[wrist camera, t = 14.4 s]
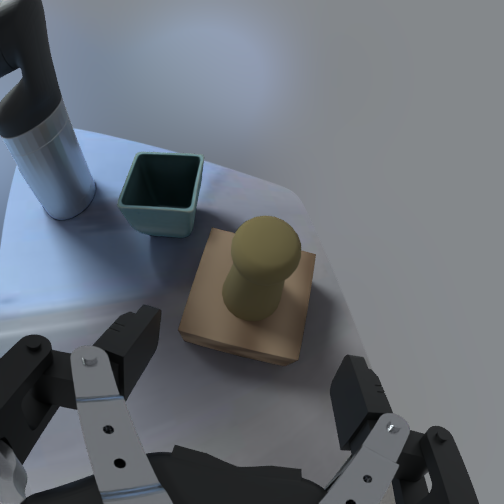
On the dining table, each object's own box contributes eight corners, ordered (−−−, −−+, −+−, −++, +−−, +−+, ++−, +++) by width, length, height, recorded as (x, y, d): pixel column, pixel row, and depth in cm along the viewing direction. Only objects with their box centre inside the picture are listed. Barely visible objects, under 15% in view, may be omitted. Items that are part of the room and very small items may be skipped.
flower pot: (147, 194, 42) (136, 150, 34) (205, 198, 42) (204, 153, 34) (133, 246, 38) (115, 206, 30) (197, 252, 38) (193, 212, 30)
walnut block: (184, 340, 33) (178, 329, 27) (212, 252, 38) (212, 227, 33) (284, 366, 33) (298, 360, 27) (301, 275, 38) (315, 254, 33)
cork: (277, 264, 32) (304, 203, 22) (284, 319, 29) (319, 277, 20) (220, 266, 31) (224, 203, 21) (223, 322, 28) (228, 281, 19)
